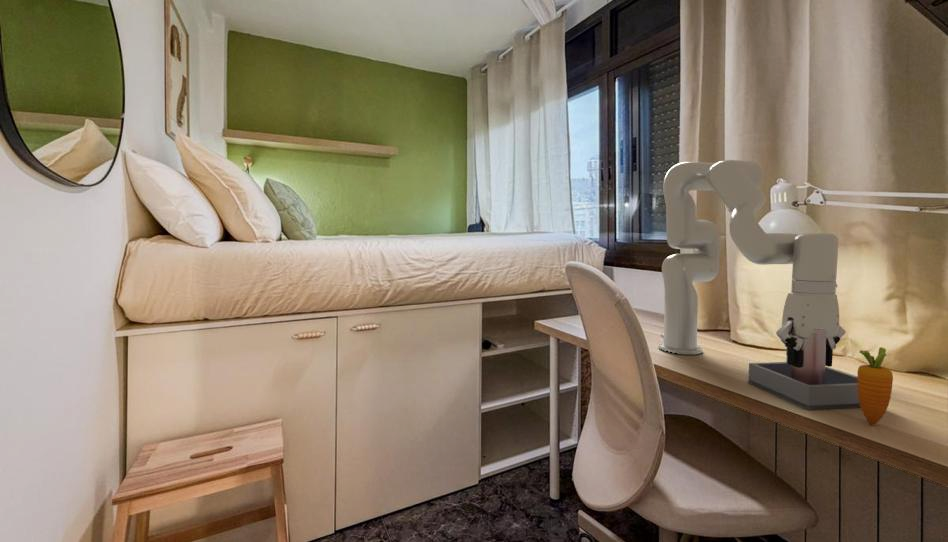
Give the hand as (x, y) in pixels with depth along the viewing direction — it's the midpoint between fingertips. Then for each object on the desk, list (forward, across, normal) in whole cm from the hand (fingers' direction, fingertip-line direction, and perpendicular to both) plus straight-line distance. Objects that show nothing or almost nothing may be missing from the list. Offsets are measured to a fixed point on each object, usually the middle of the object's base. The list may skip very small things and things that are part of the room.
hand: (809, 364), depth 88 cm
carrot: (+7, +2, +15) cm, 17 cm away
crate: (+7, 0, 0) cm, 7 cm away
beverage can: (+6, 0, 0) cm, 6 cm away
